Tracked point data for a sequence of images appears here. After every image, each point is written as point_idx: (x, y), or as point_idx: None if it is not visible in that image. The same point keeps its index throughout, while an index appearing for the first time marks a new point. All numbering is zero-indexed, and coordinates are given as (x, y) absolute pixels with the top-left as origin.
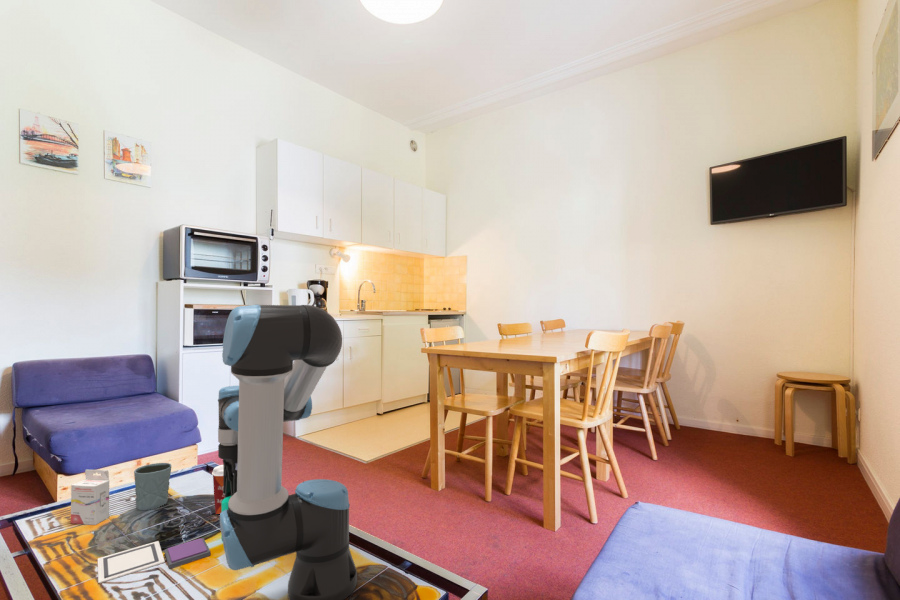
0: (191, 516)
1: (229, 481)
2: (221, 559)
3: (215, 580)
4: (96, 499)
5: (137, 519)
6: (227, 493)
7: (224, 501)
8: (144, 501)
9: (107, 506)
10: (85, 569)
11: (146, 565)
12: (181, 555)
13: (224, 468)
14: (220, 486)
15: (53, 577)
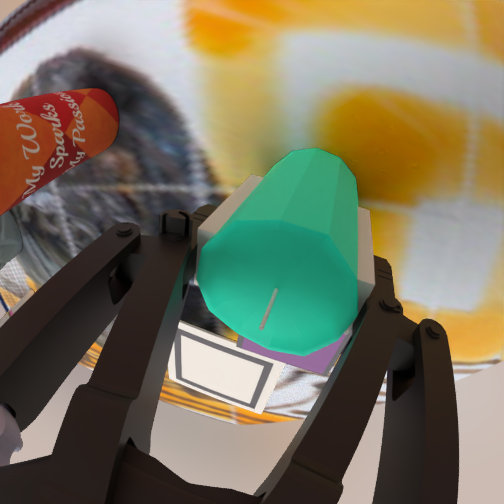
0: (74, 203)
1: (159, 384)
2: (419, 298)
3: (475, 347)
4: None
5: (48, 273)
6: (183, 300)
7: (240, 317)
8: (9, 258)
9: (20, 305)
10: (193, 394)
11: (270, 377)
12: (316, 356)
13: (34, 419)
14: (25, 191)
15: (187, 408)
